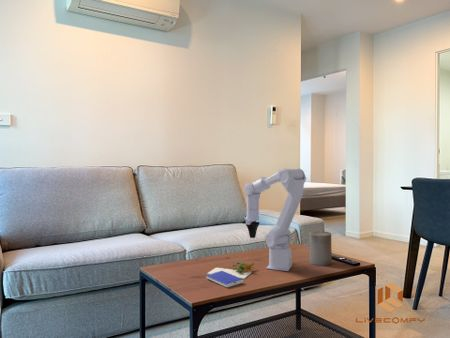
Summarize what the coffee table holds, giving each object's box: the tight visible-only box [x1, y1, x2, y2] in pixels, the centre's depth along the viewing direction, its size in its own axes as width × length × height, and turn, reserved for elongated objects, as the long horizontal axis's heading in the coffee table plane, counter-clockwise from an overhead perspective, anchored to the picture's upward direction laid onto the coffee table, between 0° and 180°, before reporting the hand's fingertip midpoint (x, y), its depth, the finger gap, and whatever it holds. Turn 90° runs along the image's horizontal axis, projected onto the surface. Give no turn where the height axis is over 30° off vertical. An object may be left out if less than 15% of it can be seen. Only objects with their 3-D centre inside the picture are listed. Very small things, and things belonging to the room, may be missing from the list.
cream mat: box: [206, 267, 252, 280], centre depth 149 cm, size 16×9×1 cm, turn 67°
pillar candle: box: [309, 230, 333, 267], centre depth 165 cm, size 10×10×15 cm
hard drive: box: [205, 271, 244, 288], centre depth 139 cm, size 2×8×12 cm
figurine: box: [232, 262, 255, 273], centre depth 151 cm, size 3×12×8 cm
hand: (252, 237), depth 170 cm, fingers closed
